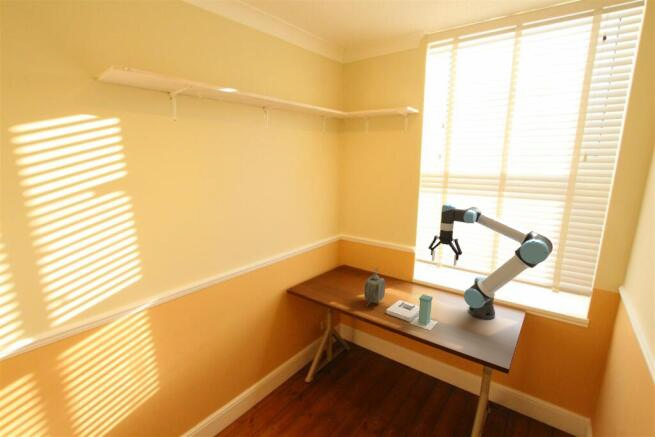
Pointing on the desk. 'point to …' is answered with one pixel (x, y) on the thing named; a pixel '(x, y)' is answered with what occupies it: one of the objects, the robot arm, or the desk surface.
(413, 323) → the pad
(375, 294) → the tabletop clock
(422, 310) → the teal square pillar
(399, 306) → the white square socket base
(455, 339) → the desk surface
